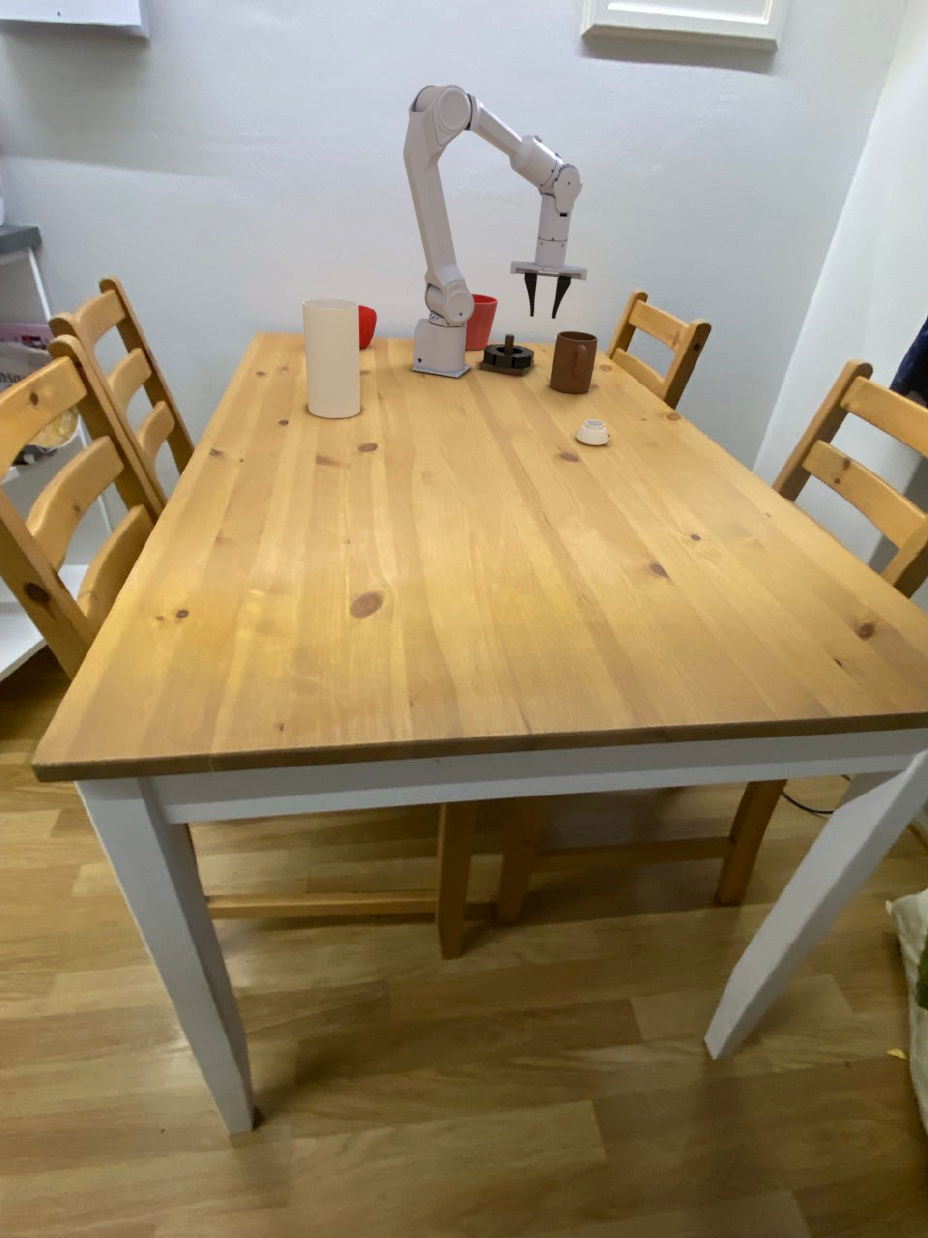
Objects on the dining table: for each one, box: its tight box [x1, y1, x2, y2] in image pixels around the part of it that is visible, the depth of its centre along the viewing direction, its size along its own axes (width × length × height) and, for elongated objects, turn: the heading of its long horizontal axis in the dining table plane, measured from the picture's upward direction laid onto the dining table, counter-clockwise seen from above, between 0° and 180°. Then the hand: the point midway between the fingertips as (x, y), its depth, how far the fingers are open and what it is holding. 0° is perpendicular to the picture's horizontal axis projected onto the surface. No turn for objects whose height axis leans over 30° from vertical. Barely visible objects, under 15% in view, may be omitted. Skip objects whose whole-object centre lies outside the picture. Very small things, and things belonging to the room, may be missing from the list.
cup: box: [302, 297, 361, 419], centre depth 108 cm, size 8×8×16 cm
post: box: [478, 333, 535, 377], centre depth 139 cm, size 9×9×6 cm
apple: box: [358, 304, 378, 349], centre depth 143 cm, size 9×9×8 cm
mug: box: [549, 330, 599, 394], centre depth 127 cm, size 12×8×9 cm, turn 0°
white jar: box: [575, 418, 610, 446], centre depth 108 cm, size 5×3×5 cm
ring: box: [482, 343, 535, 369], centre depth 139 cm, size 10×10×2 cm
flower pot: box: [465, 293, 499, 351], centre depth 150 cm, size 11×11×10 cm
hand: (542, 316), depth 138 cm, fingers open, 4 cm apart
